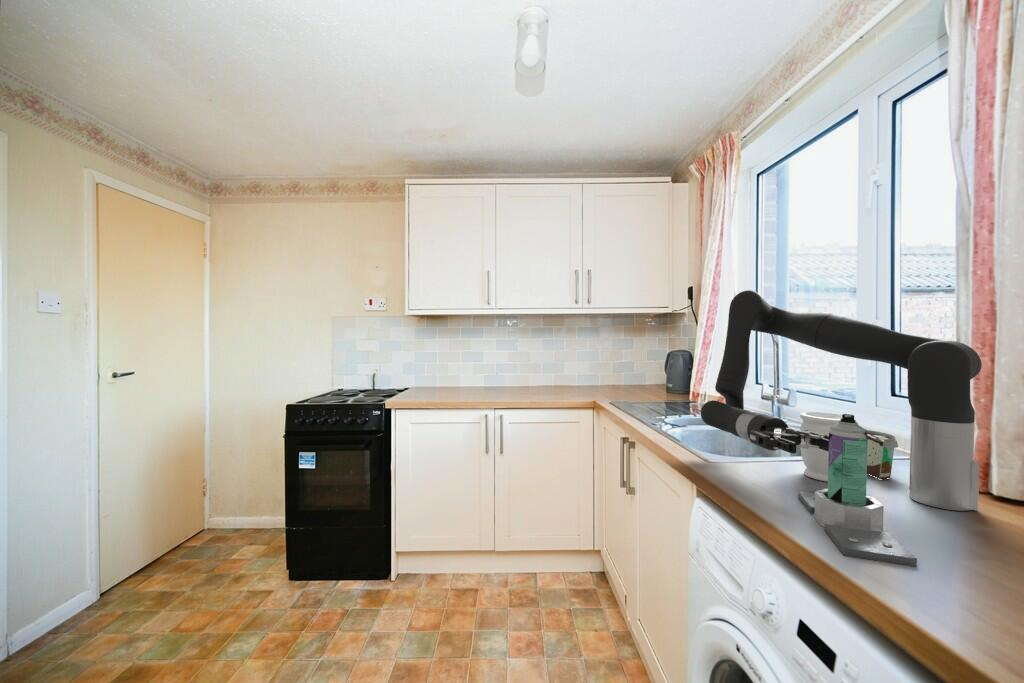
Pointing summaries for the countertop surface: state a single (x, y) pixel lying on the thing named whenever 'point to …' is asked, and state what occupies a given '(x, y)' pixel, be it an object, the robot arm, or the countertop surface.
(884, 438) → the food container
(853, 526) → the grey octagonal flange mount
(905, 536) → the countertop surface
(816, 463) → the jar
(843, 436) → the spray can
